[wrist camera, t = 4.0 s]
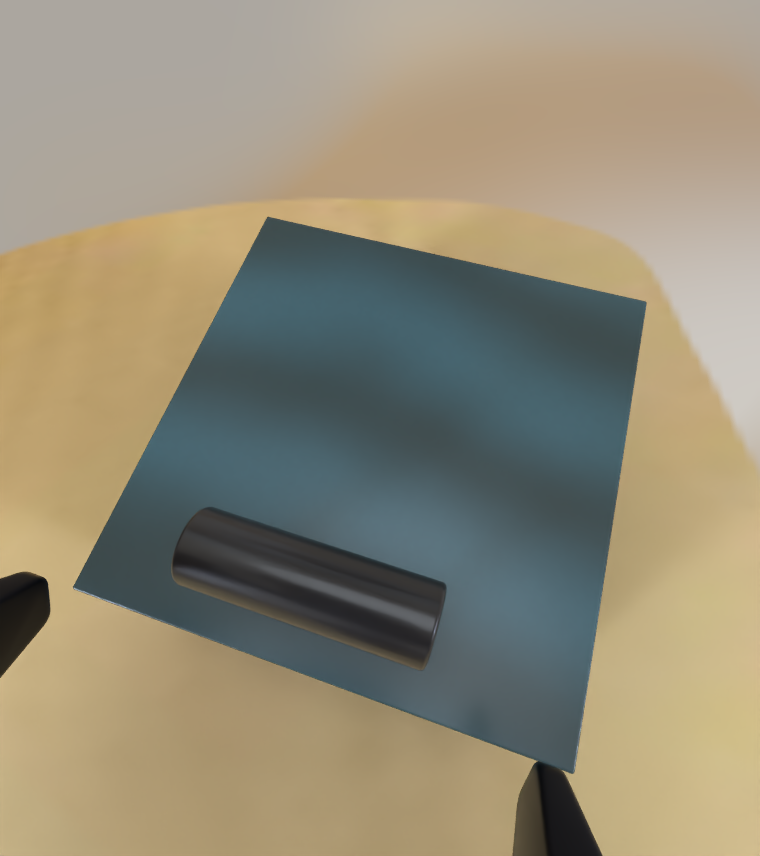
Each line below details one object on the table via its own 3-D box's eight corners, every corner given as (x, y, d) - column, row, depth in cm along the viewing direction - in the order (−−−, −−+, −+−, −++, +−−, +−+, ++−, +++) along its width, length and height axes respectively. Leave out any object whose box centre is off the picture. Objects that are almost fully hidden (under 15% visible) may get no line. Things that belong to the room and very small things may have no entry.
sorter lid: (565, 767, 11) (651, 834, 7) (87, 591, 13) (-46, 569, 9) (637, 315, 16) (715, 206, 12) (272, 231, 18) (234, 114, 14)
